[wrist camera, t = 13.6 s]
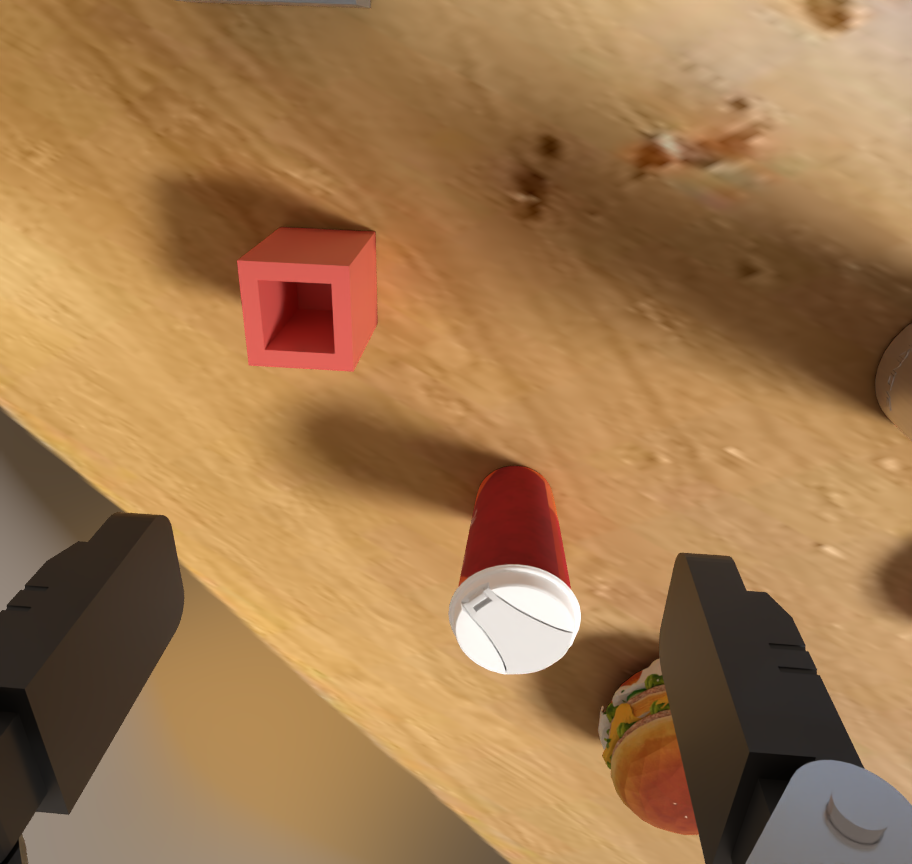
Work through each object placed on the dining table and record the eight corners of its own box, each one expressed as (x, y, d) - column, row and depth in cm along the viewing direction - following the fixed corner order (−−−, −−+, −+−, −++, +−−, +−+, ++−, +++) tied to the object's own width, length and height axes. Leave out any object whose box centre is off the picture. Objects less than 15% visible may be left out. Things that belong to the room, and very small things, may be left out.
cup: (375, 231, 45) (349, 266, 38) (377, 323, 48) (353, 371, 41) (280, 227, 45) (236, 260, 38) (288, 318, 48) (248, 365, 41)
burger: (768, 742, 64) (808, 854, 55) (615, 767, 67) (630, 877, 58) (741, 631, 58) (781, 736, 49) (576, 664, 61) (586, 768, 52)
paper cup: (441, 493, 54) (419, 626, 42) (519, 432, 51) (519, 556, 39) (512, 557, 56) (510, 701, 44) (590, 502, 53) (612, 640, 41)
